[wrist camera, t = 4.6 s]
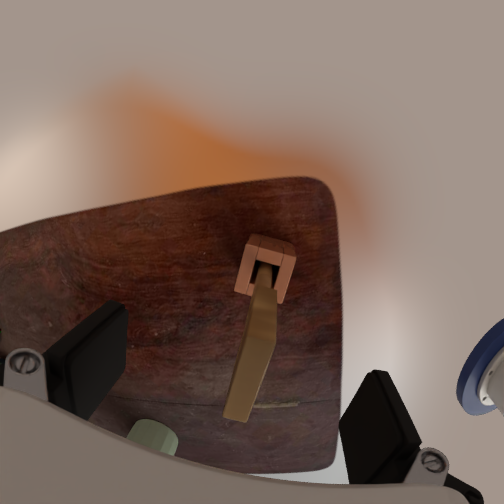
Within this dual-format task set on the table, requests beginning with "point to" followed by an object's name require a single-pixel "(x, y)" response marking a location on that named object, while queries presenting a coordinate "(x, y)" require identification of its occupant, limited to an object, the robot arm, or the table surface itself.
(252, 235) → the holder
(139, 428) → the bottle
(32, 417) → the robot arm
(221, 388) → the table surface
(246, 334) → the brown long flat piece
